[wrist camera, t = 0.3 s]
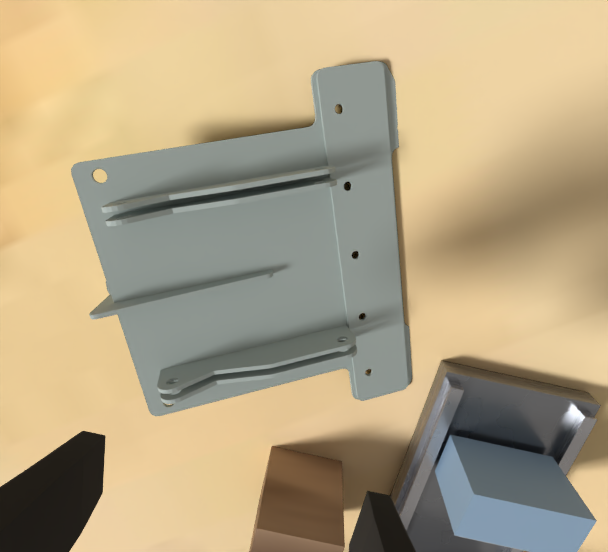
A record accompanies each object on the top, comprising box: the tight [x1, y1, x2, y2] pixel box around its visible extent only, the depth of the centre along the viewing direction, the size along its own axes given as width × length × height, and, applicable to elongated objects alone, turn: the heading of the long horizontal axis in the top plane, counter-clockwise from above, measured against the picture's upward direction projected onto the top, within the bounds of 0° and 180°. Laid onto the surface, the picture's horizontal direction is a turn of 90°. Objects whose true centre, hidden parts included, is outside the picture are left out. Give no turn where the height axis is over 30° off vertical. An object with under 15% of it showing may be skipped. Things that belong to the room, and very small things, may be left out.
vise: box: [390, 361, 601, 552], centre depth 20 cm, size 15×8×5 cm, turn 168°
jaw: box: [435, 435, 596, 552], centre depth 19 cm, size 3×5×4 cm, turn 78°
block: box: [249, 446, 345, 552], centre depth 21 cm, size 4×4×5 cm
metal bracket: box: [71, 61, 412, 416], centre depth 18 cm, size 14×6×15 cm
